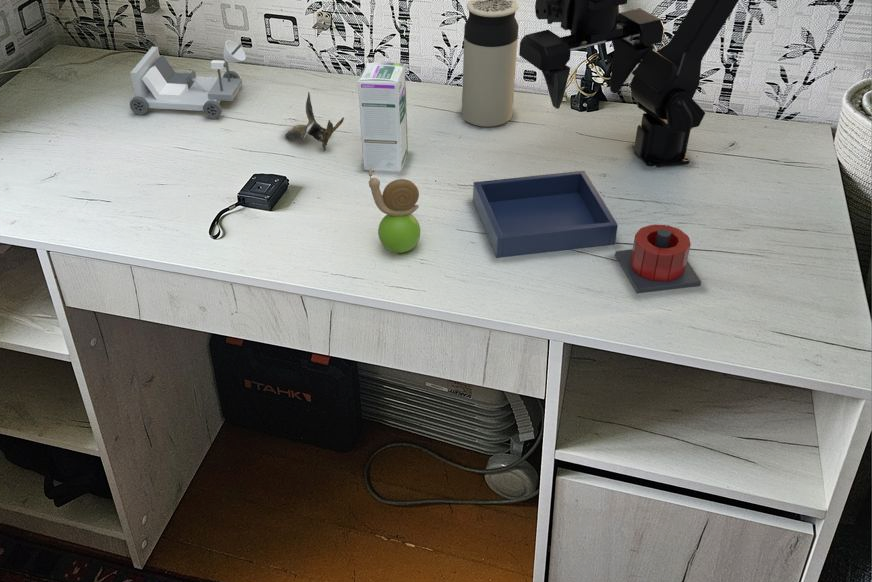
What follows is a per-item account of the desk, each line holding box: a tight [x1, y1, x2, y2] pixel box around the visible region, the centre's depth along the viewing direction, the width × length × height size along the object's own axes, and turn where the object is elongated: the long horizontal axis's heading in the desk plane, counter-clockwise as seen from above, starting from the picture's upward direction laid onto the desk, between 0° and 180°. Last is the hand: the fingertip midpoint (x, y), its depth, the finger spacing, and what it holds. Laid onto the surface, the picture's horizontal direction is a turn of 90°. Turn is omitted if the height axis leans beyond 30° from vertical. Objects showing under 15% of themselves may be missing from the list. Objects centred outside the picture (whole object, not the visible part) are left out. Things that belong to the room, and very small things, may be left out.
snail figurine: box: [367, 169, 421, 254], centre depth 118 cm, size 5×6×12 cm
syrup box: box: [357, 61, 409, 173], centre depth 134 cm, size 6×6×14 cm
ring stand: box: [614, 229, 702, 294], centre depth 115 cm, size 8×8×6 cm
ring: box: [631, 224, 692, 282], centre depth 115 cm, size 7×7×4 cm
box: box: [472, 170, 619, 259], centre depth 125 cm, size 16×14×3 cm
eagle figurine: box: [284, 91, 345, 152], centre depth 143 cm, size 8×7×9 cm
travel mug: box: [461, 0, 519, 128], centre depth 143 cm, size 8×8×18 cm
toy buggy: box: [129, 39, 247, 120], centre depth 153 cm, size 18×10×12 cm
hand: (584, 99), depth 127 cm, fingers open, 9 cm apart
